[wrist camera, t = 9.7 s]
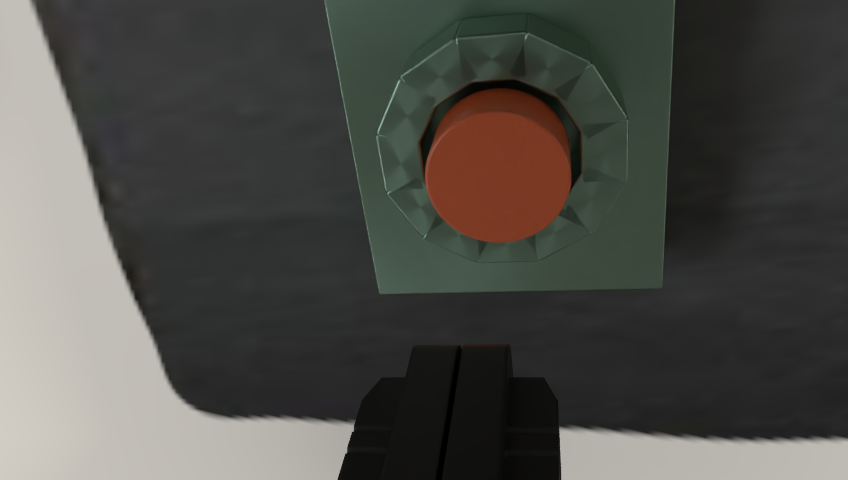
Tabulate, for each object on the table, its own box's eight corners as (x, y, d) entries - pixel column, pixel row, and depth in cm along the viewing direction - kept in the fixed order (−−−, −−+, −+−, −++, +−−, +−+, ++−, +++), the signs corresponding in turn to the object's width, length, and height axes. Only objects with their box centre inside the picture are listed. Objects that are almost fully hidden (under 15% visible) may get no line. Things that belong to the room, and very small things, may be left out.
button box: (333, -72, 21) (291, -46, 17) (667, -111, 19) (693, -90, 16) (390, 259, 26) (367, 328, 23) (654, 251, 25) (670, 325, 21)
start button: (425, 92, 19) (415, 117, 18) (567, 81, 18) (569, 107, 17) (441, 214, 21) (433, 246, 19) (571, 208, 20) (573, 241, 19)
